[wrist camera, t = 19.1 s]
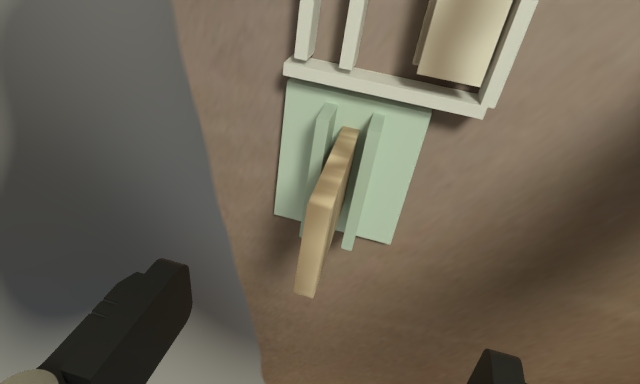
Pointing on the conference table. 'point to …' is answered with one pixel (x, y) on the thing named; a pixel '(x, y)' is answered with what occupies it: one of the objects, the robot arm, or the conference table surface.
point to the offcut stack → (459, 39)
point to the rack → (397, 86)
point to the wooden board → (325, 212)
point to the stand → (369, 160)
